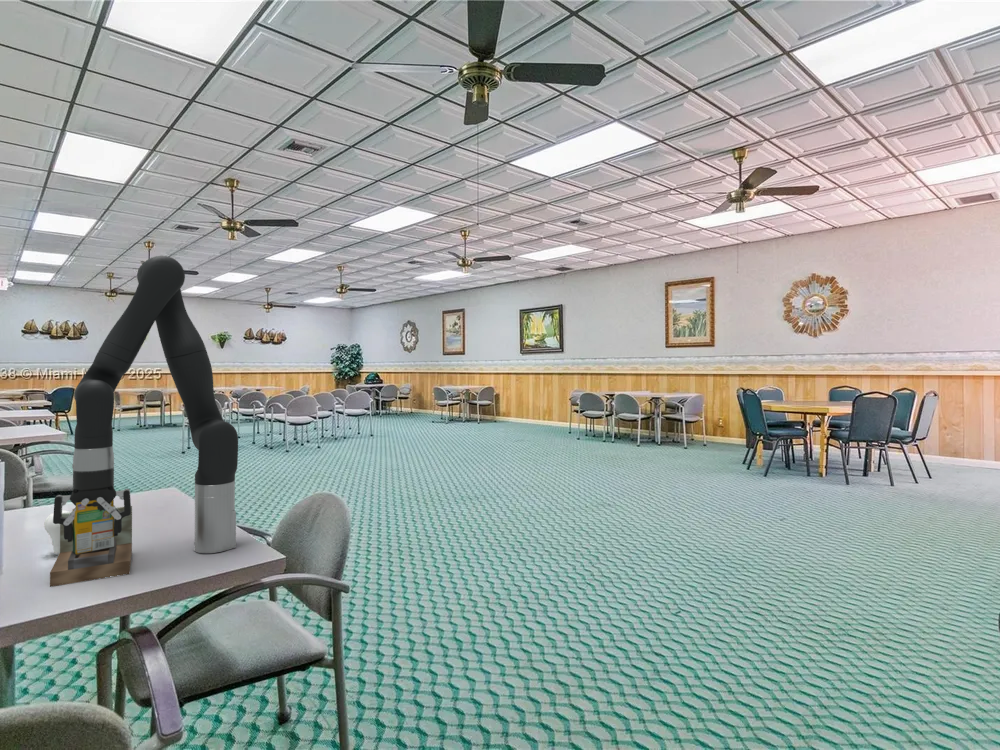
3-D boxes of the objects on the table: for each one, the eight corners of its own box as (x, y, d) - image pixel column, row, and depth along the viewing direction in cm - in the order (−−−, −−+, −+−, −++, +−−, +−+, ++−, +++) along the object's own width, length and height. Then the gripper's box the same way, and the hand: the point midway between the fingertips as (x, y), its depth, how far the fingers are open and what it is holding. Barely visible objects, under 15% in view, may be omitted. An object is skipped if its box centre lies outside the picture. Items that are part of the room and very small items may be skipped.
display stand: (131, 553, 136) (132, 505, 136) (129, 573, 123) (129, 521, 123) (60, 563, 129) (60, 513, 129) (49, 586, 115) (50, 530, 115)
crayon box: (110, 544, 128) (110, 495, 128) (114, 547, 126) (114, 497, 126) (72, 552, 123) (72, 500, 122) (75, 555, 121) (75, 502, 120)
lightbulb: (65, 549, 139) (66, 506, 139) (81, 552, 137) (81, 509, 137) (38, 557, 133) (38, 512, 133) (54, 560, 131) (54, 514, 131)
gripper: (132, 462, 131) (131, 529, 131) (56, 467, 123) (55, 538, 124) (130, 466, 125) (130, 537, 125) (51, 472, 117) (50, 547, 117)
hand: (93, 537), depth 124 cm, fingers open, 8 cm apart
